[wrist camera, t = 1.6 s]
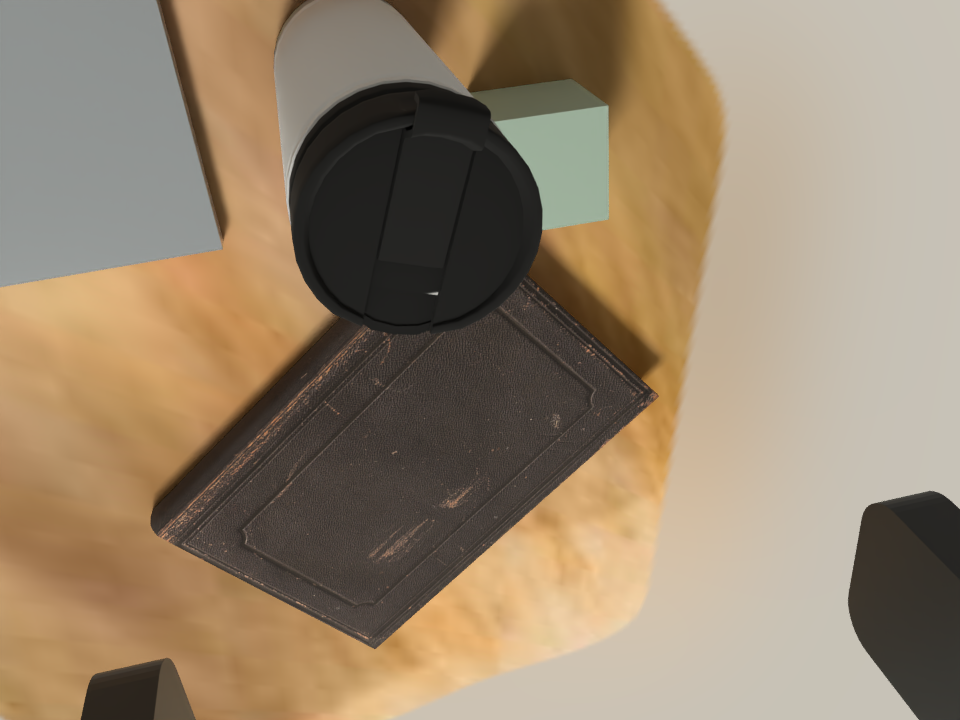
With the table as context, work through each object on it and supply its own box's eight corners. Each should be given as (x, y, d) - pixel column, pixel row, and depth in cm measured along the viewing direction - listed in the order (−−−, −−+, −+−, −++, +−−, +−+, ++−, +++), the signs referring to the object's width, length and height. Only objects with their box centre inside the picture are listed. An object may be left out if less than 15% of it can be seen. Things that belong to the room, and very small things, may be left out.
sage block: (464, 92, 40) (489, 122, 35) (571, 78, 40) (608, 105, 36) (473, 198, 42) (498, 237, 38) (573, 182, 43) (608, 219, 39)
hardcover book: (643, 375, 50) (659, 397, 48) (370, 621, 55) (375, 650, 53) (450, 197, 42) (460, 214, 40) (151, 503, 47) (147, 532, 45)
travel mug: (435, -2, 37) (587, 125, 20) (404, 150, 40) (515, 370, 23) (285, -38, 35) (315, 70, 18) (264, 124, 38) (274, 345, 21)
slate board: (-275, -56, 31) (-289, -53, 30) (132, -102, 33) (129, -101, 32) (-102, 295, 38) (-110, 305, 38) (223, 240, 40) (222, 249, 39)
